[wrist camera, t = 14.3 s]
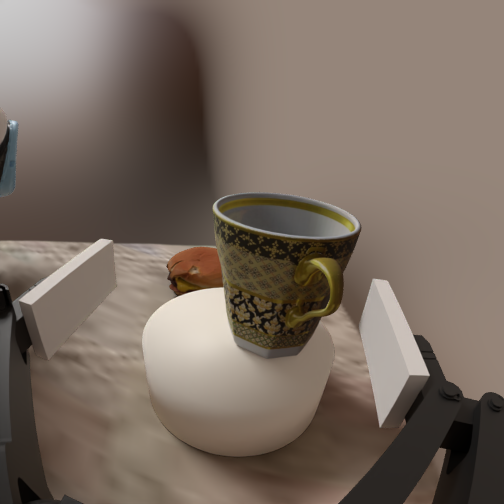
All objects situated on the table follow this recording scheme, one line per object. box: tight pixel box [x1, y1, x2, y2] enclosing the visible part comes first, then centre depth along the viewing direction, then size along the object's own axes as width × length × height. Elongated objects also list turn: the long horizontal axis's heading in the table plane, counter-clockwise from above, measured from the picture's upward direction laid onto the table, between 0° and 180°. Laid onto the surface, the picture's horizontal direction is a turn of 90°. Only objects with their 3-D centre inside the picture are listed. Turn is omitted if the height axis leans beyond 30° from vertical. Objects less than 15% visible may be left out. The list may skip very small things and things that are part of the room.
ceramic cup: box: [213, 193, 361, 359], centre depth 22 cm, size 13×10×10 cm
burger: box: [166, 247, 223, 296], centre depth 42 cm, size 10×9×5 cm
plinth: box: [142, 287, 335, 457], centre depth 26 cm, size 15×15×6 cm
